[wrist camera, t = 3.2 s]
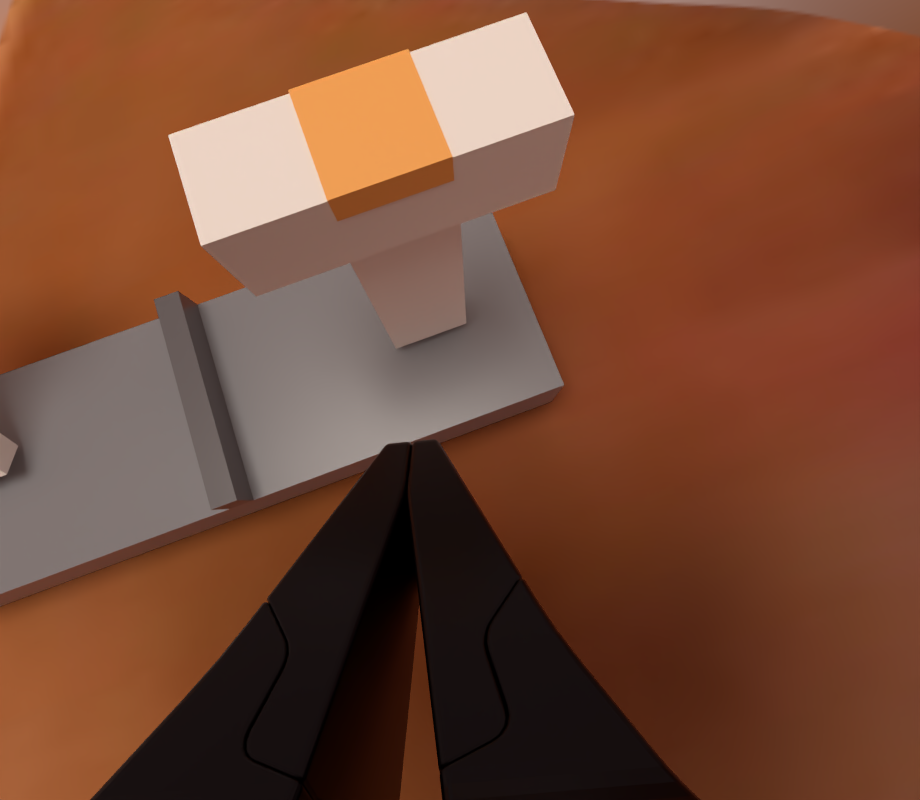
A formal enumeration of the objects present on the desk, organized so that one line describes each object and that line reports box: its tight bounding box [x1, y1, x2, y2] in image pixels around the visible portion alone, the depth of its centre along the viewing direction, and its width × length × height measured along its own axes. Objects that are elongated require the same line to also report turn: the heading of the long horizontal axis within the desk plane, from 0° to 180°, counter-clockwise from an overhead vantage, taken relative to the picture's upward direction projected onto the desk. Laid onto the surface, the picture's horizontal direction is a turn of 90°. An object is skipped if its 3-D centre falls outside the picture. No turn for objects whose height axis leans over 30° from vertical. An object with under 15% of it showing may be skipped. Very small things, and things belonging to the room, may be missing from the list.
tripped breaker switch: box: [168, 13, 574, 349], centre depth 13 cm, size 2×6×9 cm, turn 110°
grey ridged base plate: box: [0, 213, 564, 606], centre depth 18 cm, size 7×22×4 cm, turn 110°
